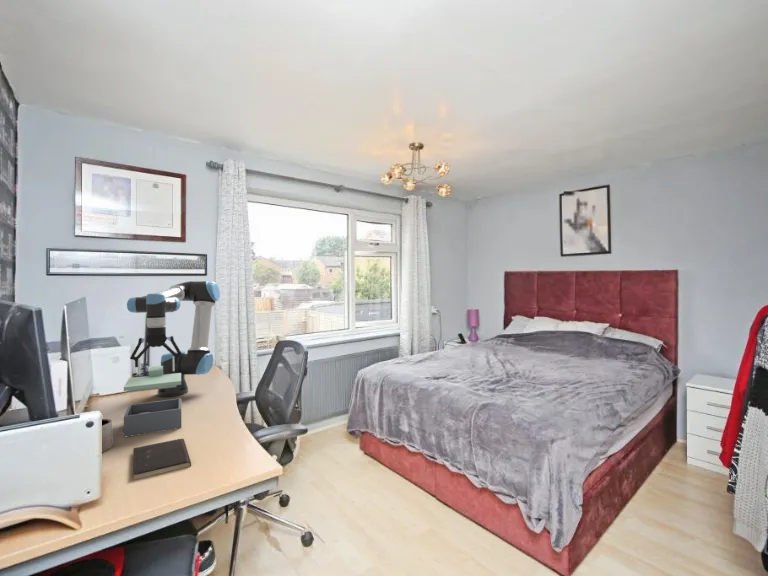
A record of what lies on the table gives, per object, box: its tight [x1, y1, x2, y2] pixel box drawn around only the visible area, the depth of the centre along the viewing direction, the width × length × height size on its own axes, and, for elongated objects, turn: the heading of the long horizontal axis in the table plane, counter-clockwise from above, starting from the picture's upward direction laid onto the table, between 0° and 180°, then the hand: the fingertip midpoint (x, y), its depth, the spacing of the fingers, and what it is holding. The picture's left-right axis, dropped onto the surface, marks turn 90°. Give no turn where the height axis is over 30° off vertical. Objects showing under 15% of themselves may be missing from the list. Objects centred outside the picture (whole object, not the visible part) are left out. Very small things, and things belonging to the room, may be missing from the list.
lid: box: [123, 365, 181, 393], centre depth 164 cm, size 27×20×5 cm
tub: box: [123, 397, 182, 438], centre depth 160 cm, size 18×20×8 cm
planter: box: [101, 418, 113, 453], centre depth 135 cm, size 11×11×10 cm
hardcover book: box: [132, 438, 192, 480], centre depth 127 cm, size 16×23×2 cm
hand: (156, 372), depth 172 cm, fingers open, 13 cm apart
